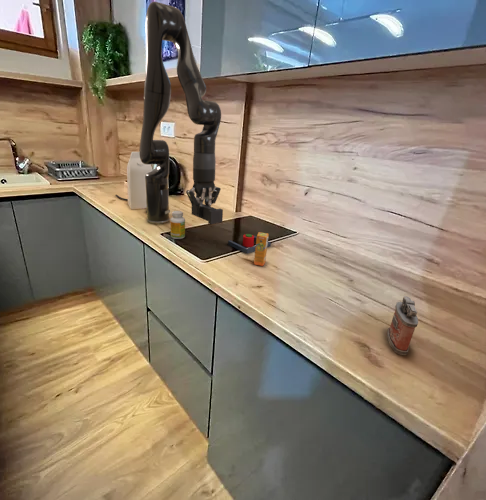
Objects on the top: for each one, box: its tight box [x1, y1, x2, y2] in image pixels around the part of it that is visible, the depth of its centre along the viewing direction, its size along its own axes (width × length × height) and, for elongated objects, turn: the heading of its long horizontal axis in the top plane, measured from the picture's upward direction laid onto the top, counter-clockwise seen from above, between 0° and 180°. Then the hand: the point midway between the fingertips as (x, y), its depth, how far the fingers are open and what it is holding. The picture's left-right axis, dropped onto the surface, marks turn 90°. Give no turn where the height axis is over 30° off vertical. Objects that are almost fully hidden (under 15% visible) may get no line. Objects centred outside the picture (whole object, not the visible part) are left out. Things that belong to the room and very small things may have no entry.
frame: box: [227, 234, 272, 255], centre depth 110 cm, size 10×12×2 cm
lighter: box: [386, 295, 419, 356], centre depth 62 cm, size 8×3×10 cm, turn 163°
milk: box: [126, 151, 153, 210], centre depth 149 cm, size 12×12×26 cm
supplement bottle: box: [169, 210, 186, 240], centre depth 113 cm, size 5×5×10 cm
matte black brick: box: [191, 203, 224, 225], centre depth 107 cm, size 14×5×4 cm, turn 39°
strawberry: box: [242, 233, 255, 248], centre depth 110 cm, size 4×4×4 cm
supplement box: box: [253, 231, 270, 267], centre depth 94 cm, size 3×3×10 cm
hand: (203, 216), depth 108 cm, fingers closed on matte black brick, 2 cm apart
